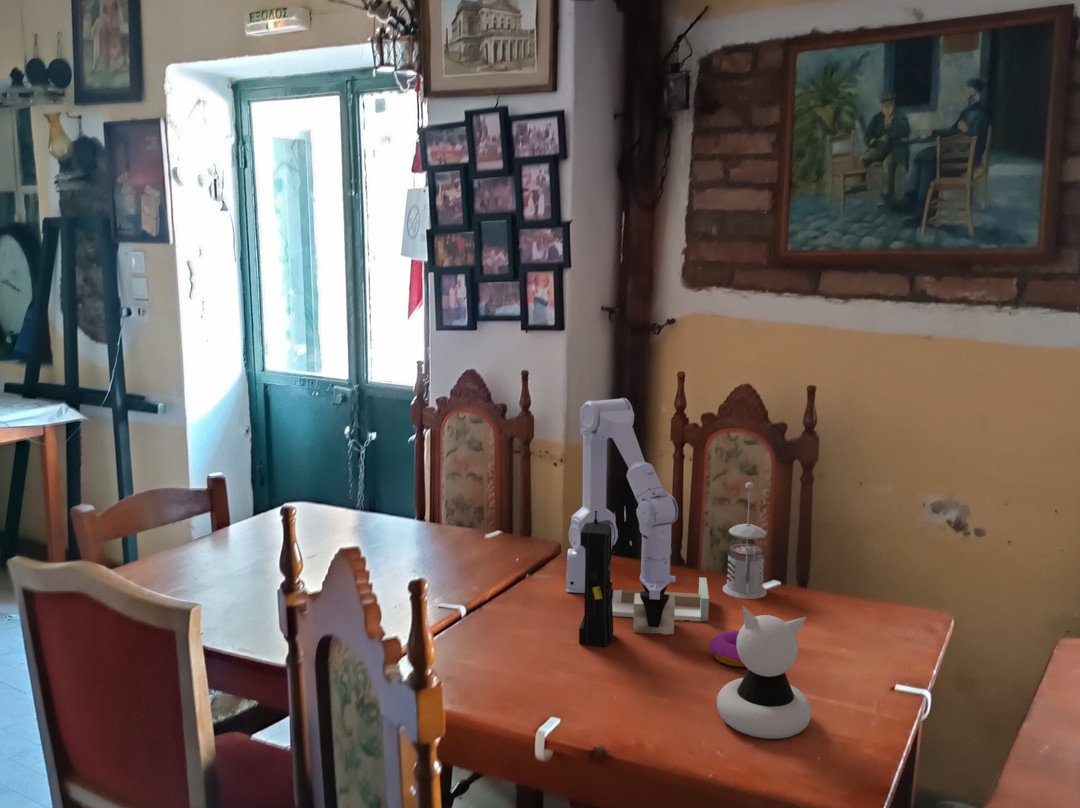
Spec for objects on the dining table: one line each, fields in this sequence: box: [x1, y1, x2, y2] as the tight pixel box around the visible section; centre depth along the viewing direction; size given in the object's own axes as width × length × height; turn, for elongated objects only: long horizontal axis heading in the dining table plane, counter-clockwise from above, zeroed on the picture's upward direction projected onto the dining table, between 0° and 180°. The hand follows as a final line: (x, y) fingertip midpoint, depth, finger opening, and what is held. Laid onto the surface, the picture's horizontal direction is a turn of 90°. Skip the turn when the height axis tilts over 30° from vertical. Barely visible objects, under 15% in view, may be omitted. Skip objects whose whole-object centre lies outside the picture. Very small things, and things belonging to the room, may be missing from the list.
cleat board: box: [612, 577, 710, 622], centre depth 189 cm, size 20×12×5 cm, turn 82°
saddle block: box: [632, 593, 675, 635], centre depth 179 cm, size 8×6×6 cm
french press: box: [722, 481, 768, 600], centre depth 196 cm, size 10×12×25 cm
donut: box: [709, 630, 747, 668], centre depth 165 cm, size 10×10×4 cm
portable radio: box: [578, 511, 615, 647], centre depth 171 cm, size 8×6×25 cm
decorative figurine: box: [716, 605, 812, 740], centre depth 142 cm, size 15×15×20 cm
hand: (653, 620), depth 179 cm, fingers closed on saddle block, 6 cm apart
